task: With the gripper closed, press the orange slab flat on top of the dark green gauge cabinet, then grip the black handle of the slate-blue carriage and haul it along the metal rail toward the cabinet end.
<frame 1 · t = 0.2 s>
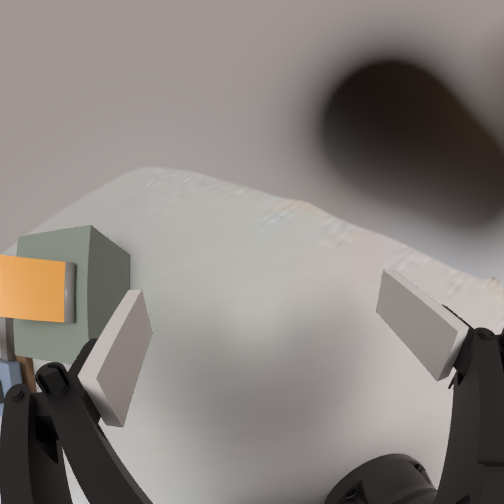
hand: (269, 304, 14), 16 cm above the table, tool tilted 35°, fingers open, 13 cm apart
rail: (18, 346, 26), on the table
gauge cabinet: (94, 306, 29), on the table
orange slab: (32, 289, 17), point 13 cm above the table, hinge at 35.0°
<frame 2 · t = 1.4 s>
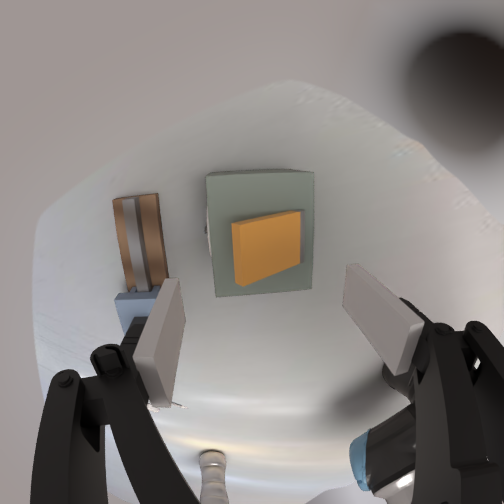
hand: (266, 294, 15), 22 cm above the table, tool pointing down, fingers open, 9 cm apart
plastic bottle: (212, 453, 53), on the table
picture light: (152, 399, 45), on the table
rail: (146, 267, 36), on the table
gauge cabinet: (252, 216, 36), on the table
carriage: (141, 335, 31), point 8 cm above the table, slide at 0.0 cm
orange slab: (273, 244, 24), point 13 cm above the table, hinge at 35.0°
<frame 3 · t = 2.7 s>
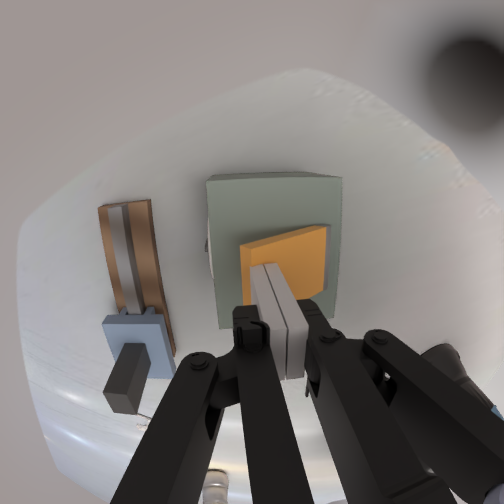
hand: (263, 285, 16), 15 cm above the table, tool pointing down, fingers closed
plastic bottle: (214, 472, 47), on the table
picture light: (149, 421, 40), on the table
rail: (139, 284, 31), on the table
gauge cabinet: (261, 227, 30), on the table
carriage: (133, 365, 26), point 8 cm above the table, slide at 0.0 cm
orange slab: (292, 269, 19), point 13 cm above the table, hinge at 34.5°, touching gripper
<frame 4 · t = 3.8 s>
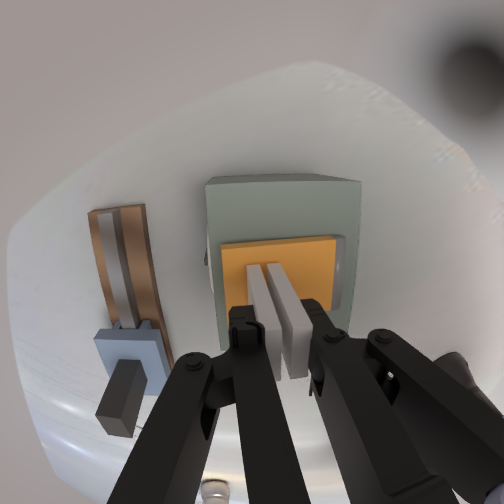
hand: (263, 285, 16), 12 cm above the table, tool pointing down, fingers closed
plastic bottle: (215, 482, 45), on the table
rail: (133, 296, 28), on the table
gauge cabinet: (267, 234, 28), on the table
carriage: (128, 383, 23), point 8 cm above the table, slide at 0.0 cm
orange slab: (287, 279, 17), point 11 cm above the table, hinge at 5.0°, touching gripper
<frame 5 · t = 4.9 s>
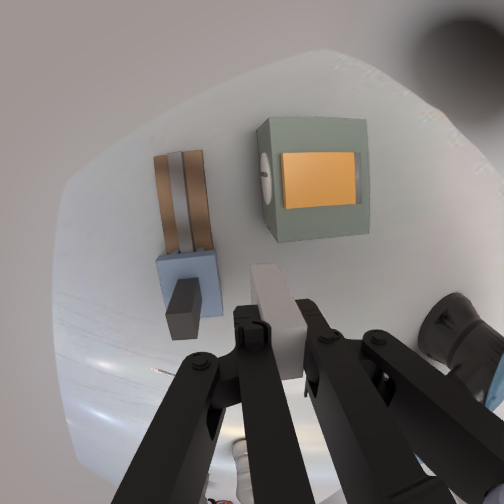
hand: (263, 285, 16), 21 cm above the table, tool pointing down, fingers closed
plastic bottle: (245, 442, 52), on the table
soda can: (223, 502, 67), on the table
rail: (188, 229, 36), on the table
gauge cabinet: (298, 173, 35), on the table
carriage: (188, 297, 30), point 8 cm above the table, slide at 0.0 cm
orange slab: (324, 178, 24), point 11 cm above the table, hinge at 1.3°
coffeepot: (196, 474, 57), on the table
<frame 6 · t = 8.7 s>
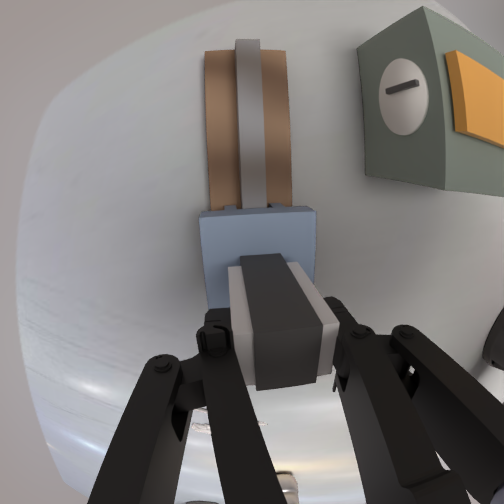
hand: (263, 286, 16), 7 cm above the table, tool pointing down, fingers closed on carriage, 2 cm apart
plastic bottle: (277, 475, 37), on the table
picture light: (212, 417, 30), on the table
rail: (248, 175, 21), on the table
gauge cabinet: (407, 115, 20), on the table
carriage: (265, 292, 15), point 8 cm above the table, slide at 0.0 cm, touching gripper
orange slab: (492, 106, 10), point 11 cm above the table, hinge at 0.3°
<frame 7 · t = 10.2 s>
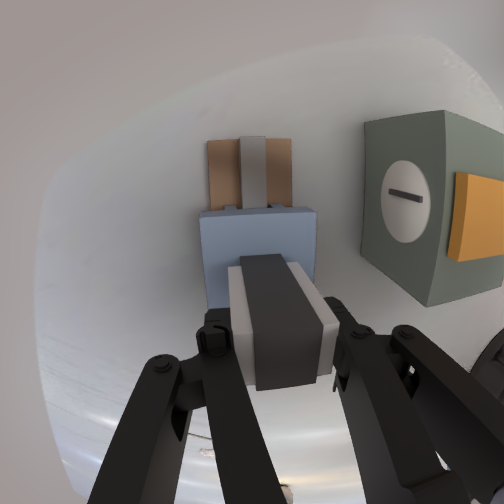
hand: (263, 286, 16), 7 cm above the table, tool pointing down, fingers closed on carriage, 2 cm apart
plastic bottle: (274, 487, 40), on the table
picture light: (217, 444, 32), on the table
rail: (252, 263, 23), on the table
gauge cabinet: (408, 191, 22), on the table
carriage: (265, 292, 15), point 8 cm above the table, slide at 7.3 cm, touching gripper
orange slab: (491, 217, 12), point 11 cm above the table, hinge at 0.3°
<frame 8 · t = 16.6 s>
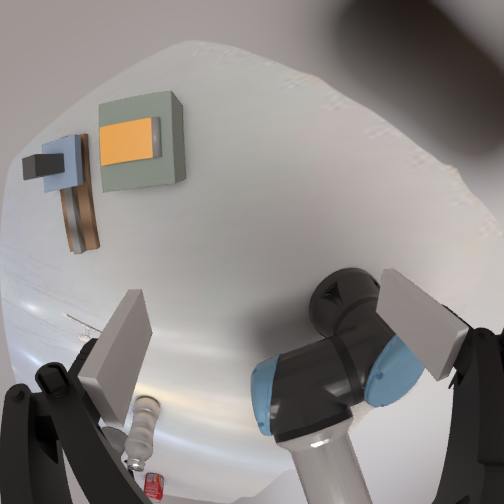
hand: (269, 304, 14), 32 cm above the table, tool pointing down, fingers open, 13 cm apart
plastic bottle: (148, 401, 57), on the table
soda can: (155, 475, 71), on the table
picture light: (88, 331, 49), on the table
rail: (77, 193, 40), on the table
gauge cabinet: (153, 145, 39), on the table
carriage: (51, 164, 31), point 8 cm above the table, slide at 11.5 cm
orange slab: (129, 141, 29), point 11 cm above the table, hinge at 0.3°
coffeepot: (118, 435, 61), on the table
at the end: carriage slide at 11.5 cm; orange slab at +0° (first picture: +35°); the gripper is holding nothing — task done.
